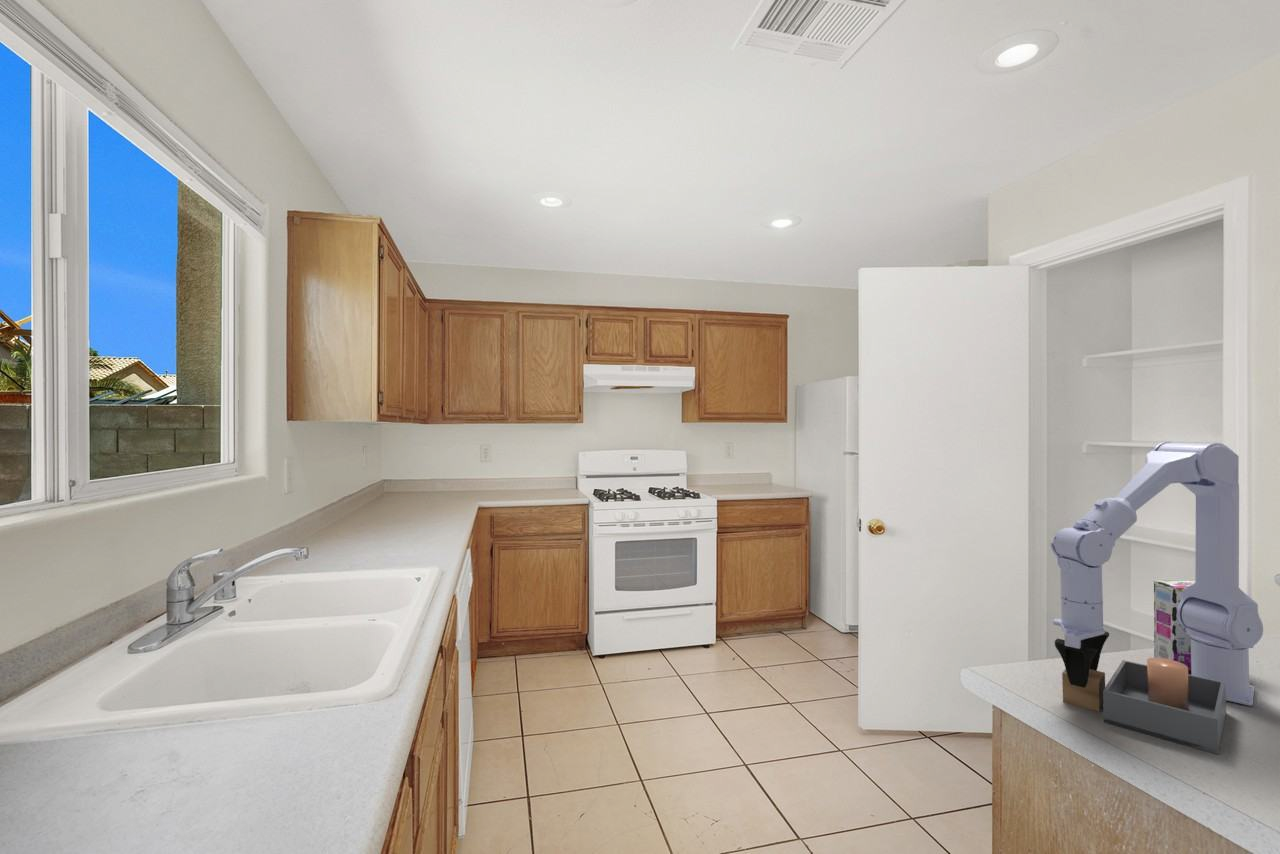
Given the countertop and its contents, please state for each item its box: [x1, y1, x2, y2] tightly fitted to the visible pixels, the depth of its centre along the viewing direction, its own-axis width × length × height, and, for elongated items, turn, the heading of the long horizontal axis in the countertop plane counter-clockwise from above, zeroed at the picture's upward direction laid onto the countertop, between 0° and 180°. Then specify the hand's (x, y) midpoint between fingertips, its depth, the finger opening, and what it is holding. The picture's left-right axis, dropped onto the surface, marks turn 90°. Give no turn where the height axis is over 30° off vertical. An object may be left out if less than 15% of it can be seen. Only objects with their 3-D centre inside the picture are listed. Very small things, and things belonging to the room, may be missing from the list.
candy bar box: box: [1153, 580, 1195, 674], centre depth 111 cm, size 11×5×16 cm, turn 88°
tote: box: [1102, 659, 1227, 756], centre depth 94 cm, size 17×13×5 cm
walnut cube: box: [1061, 668, 1106, 712], centre depth 100 cm, size 5×5×5 cm
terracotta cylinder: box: [1146, 657, 1189, 711], centre depth 96 cm, size 5×5×7 cm
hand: (1083, 678), depth 100 cm, fingers open, 7 cm apart
